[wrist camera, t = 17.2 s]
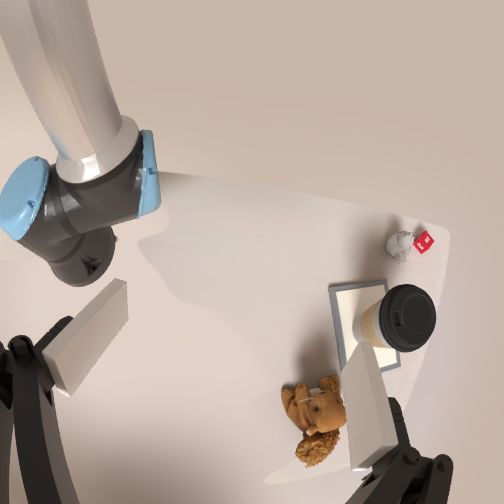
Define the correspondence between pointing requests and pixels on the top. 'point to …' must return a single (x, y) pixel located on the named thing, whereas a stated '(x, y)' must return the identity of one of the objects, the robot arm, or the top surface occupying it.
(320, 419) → the stuffed squirrel
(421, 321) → the coffee cup
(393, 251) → the light grey lumpy piece
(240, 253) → the top surface
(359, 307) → the picture frame
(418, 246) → the dice
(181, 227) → the top surface
